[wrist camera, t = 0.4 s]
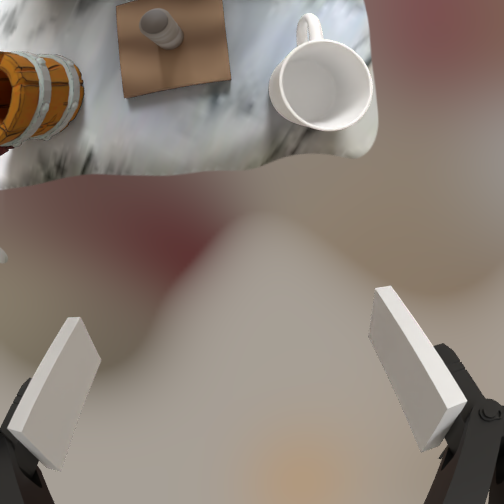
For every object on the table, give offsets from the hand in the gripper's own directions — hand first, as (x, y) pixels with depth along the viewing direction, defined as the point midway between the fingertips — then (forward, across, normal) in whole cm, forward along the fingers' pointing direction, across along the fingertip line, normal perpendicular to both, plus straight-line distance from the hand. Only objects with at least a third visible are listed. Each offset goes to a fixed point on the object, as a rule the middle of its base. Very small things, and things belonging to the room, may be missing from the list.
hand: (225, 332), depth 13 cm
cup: (+27, +9, +12) cm, 31 cm away
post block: (+27, -5, +18) cm, 32 cm away
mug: (+27, -24, +14) cm, 38 cm away
